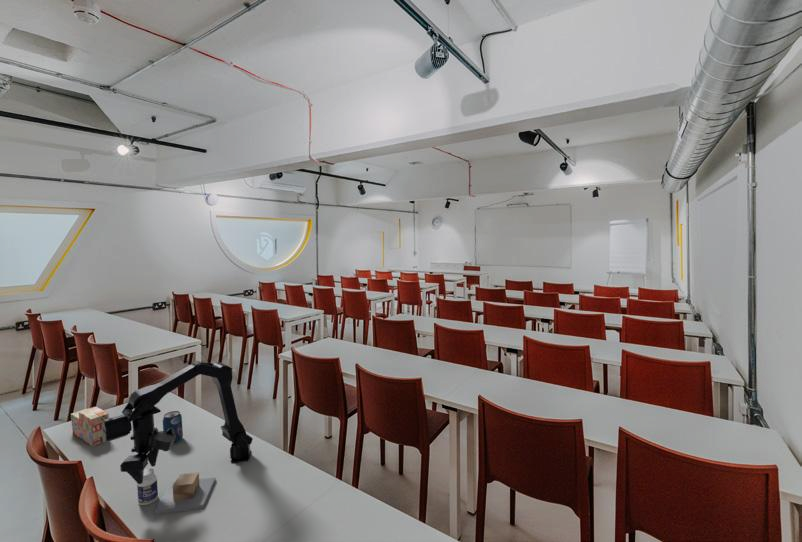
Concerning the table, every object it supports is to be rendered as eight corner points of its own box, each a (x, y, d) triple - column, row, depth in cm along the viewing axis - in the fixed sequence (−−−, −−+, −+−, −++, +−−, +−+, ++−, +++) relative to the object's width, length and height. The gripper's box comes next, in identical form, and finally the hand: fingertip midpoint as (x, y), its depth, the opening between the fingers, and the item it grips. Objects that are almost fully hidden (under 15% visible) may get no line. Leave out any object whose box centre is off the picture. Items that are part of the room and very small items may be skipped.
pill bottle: (143, 508, 119) (141, 479, 118) (135, 501, 122) (133, 473, 121) (161, 498, 123) (159, 470, 123) (153, 492, 126) (151, 465, 125)
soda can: (183, 442, 157) (182, 415, 156) (164, 447, 154) (162, 419, 152) (182, 435, 163) (180, 408, 162) (163, 439, 159) (162, 413, 158)
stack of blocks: (72, 433, 165) (69, 407, 164) (89, 427, 170) (87, 401, 169) (93, 447, 154) (90, 418, 153) (110, 440, 160) (108, 412, 158)
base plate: (215, 480, 132) (215, 477, 132) (203, 508, 119) (202, 504, 118) (172, 485, 129) (172, 482, 129) (154, 515, 116) (154, 511, 116)
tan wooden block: (199, 486, 127) (198, 472, 127) (193, 497, 122) (192, 483, 121) (180, 488, 126) (179, 474, 126) (173, 500, 120) (172, 486, 120)
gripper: (158, 441, 113) (162, 489, 114) (181, 413, 131) (184, 455, 133) (117, 446, 111) (121, 495, 112) (146, 416, 129) (149, 459, 130)
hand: (147, 474), depth 122 cm, fingers open, 9 cm apart
